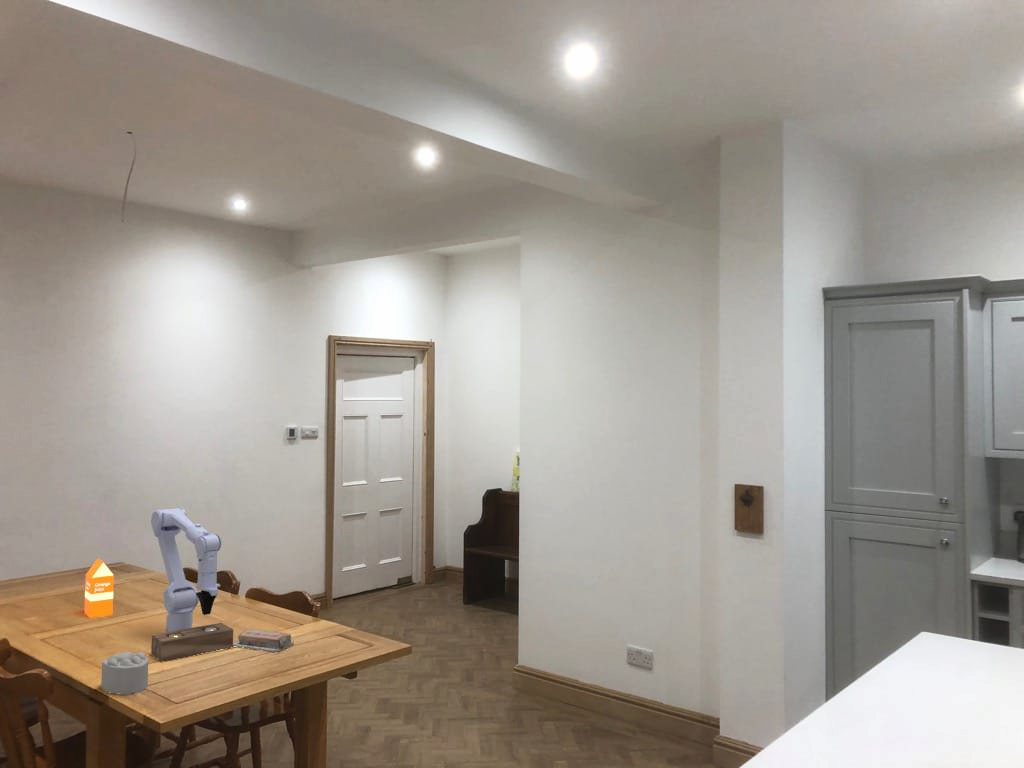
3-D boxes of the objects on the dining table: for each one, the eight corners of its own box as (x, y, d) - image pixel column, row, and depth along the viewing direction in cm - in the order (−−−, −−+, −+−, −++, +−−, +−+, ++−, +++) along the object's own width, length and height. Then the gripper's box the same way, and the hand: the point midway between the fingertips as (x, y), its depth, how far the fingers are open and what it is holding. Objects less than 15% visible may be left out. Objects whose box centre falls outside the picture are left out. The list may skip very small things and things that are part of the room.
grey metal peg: (202, 646, 248) (202, 628, 248) (213, 644, 251) (213, 626, 251) (206, 649, 246) (207, 631, 246) (217, 647, 248) (218, 629, 248)
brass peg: (166, 653, 241) (167, 634, 241) (178, 651, 243) (179, 632, 244) (170, 656, 238) (171, 637, 238) (182, 654, 241) (183, 635, 241)
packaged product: (295, 631, 254) (277, 639, 244) (295, 645, 253) (277, 654, 244) (250, 625, 259) (230, 633, 250) (249, 639, 259) (229, 648, 250)
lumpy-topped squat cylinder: (134, 676, 220) (135, 646, 221) (156, 687, 212) (157, 656, 213) (96, 686, 212) (97, 654, 213) (117, 698, 204) (118, 665, 205)
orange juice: (89, 618, 280) (91, 563, 281) (83, 613, 287) (85, 559, 287) (113, 614, 285) (115, 560, 286) (106, 609, 292) (108, 557, 293)
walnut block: (151, 654, 241) (151, 634, 241) (220, 640, 256) (221, 622, 256) (161, 662, 233) (162, 642, 234) (232, 648, 248) (233, 629, 248)
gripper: (227, 574, 248) (226, 616, 247) (211, 567, 259) (211, 607, 258) (205, 576, 243) (204, 620, 242) (190, 569, 254) (189, 611, 253)
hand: (206, 614), depth 250 cm, fingers closed
